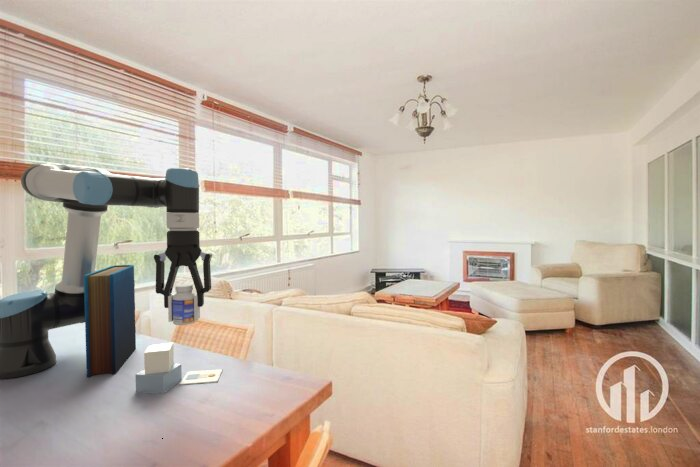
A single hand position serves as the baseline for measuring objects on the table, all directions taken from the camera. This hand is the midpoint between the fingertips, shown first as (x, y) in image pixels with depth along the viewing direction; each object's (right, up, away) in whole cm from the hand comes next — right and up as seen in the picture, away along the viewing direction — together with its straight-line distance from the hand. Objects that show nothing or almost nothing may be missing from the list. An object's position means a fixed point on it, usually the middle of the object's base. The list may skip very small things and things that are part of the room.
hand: (184, 319), depth 89 cm
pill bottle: (0, -1, 0) cm, 1 cm away
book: (-36, -20, +25) cm, 48 cm away
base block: (-10, -21, +7) cm, 24 cm away
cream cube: (-10, -16, +7) cm, 20 cm away
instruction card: (-1, -20, +13) cm, 24 cm away
